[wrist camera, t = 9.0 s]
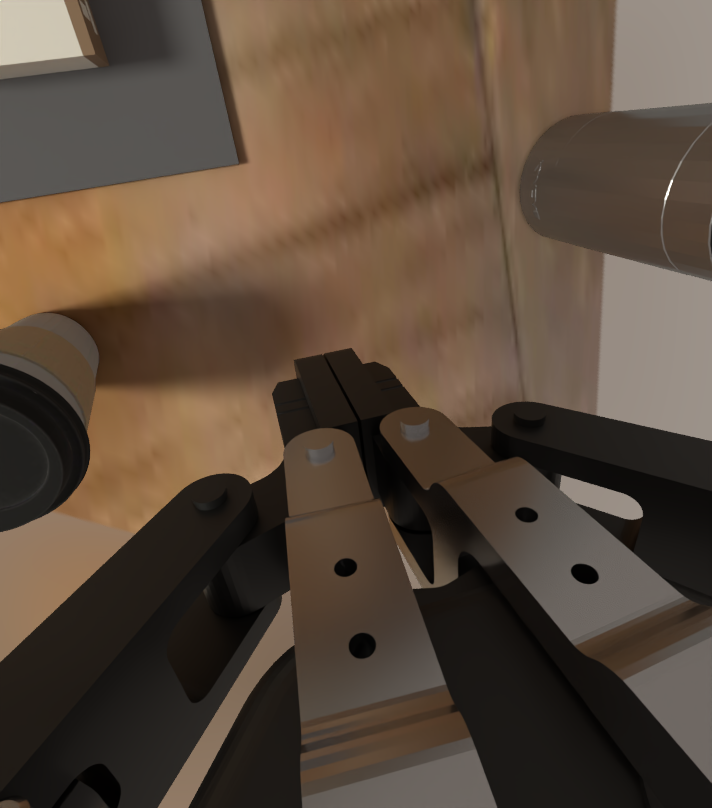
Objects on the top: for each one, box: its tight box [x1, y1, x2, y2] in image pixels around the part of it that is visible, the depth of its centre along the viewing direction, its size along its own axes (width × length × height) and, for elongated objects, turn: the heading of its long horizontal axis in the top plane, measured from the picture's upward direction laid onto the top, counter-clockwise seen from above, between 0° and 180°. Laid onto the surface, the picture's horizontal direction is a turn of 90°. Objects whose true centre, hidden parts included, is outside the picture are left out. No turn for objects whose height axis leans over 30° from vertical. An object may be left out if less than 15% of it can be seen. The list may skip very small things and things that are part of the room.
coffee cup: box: [0, 313, 99, 532], centre depth 28 cm, size 9×9×15 cm
